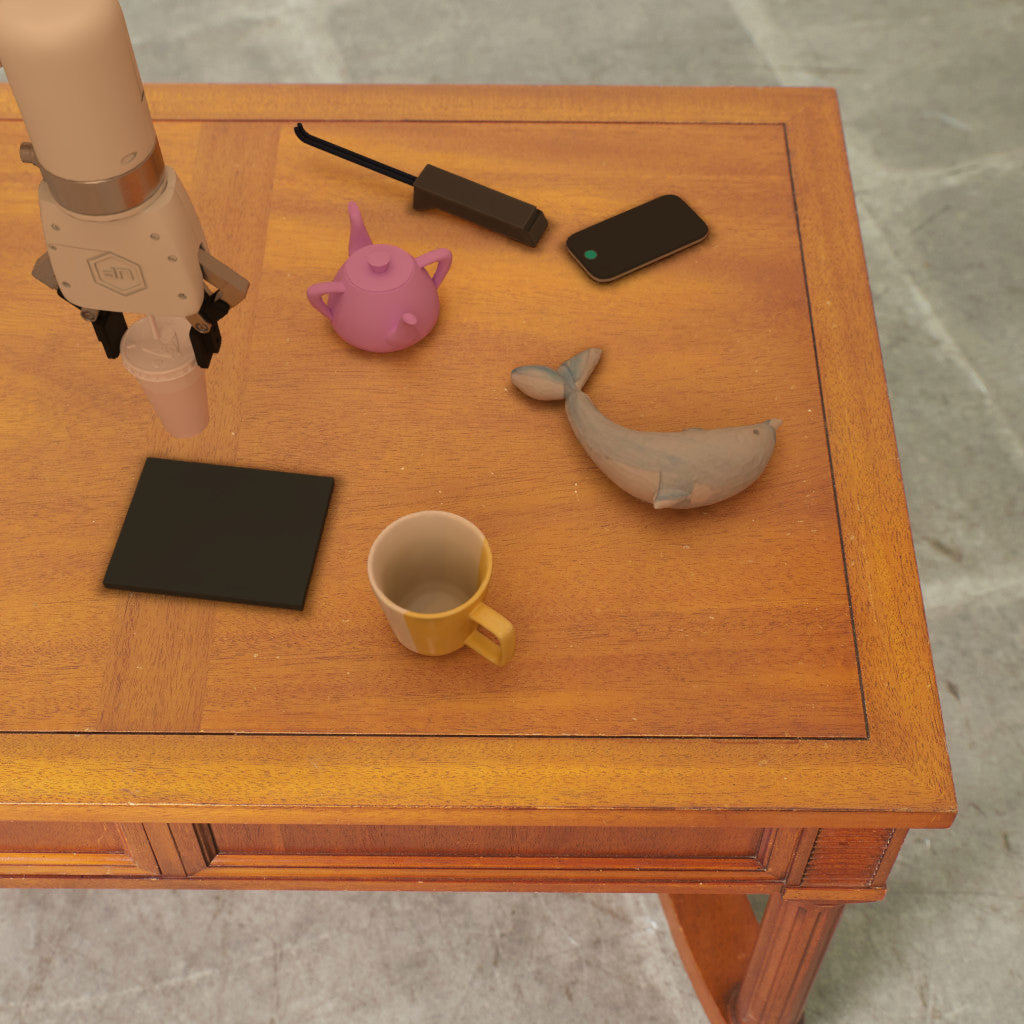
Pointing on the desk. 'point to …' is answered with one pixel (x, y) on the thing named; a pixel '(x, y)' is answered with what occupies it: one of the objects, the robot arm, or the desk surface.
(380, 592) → the mug
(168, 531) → the mat
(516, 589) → the desk surface
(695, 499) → the sculpture
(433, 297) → the teapot
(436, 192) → the hook tool
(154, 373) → the smoothie
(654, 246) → the smartphone
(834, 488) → the desk surface
